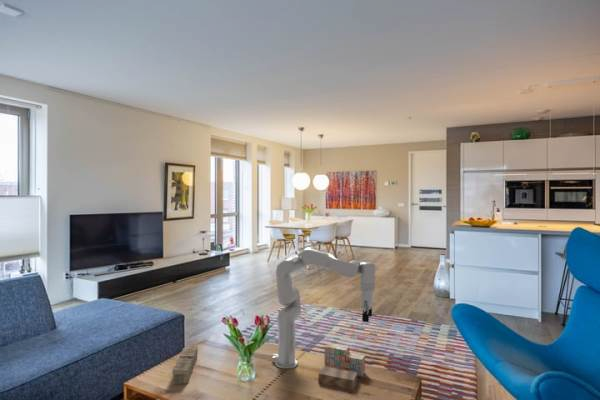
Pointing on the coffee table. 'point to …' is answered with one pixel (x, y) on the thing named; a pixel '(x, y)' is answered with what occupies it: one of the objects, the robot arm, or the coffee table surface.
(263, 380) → the coffee table surface
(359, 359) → the stack of blocks
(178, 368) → the block tower
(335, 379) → the walnut block
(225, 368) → the coffee table surface
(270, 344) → the coffee table surface
